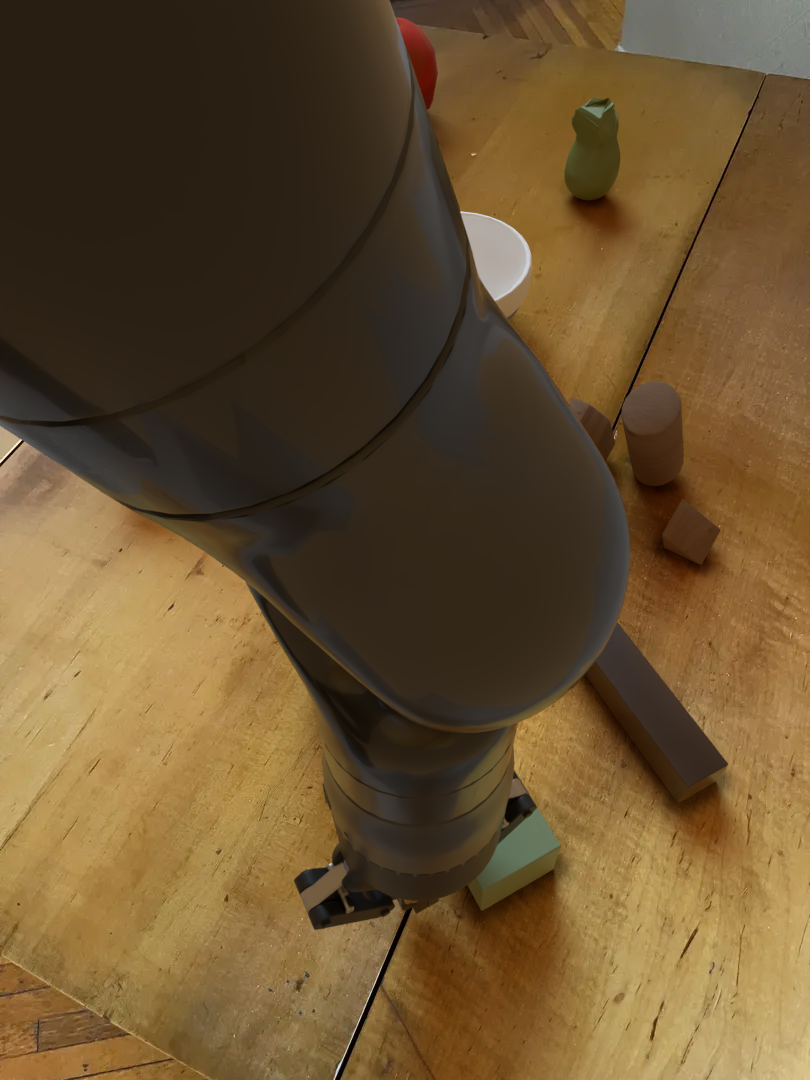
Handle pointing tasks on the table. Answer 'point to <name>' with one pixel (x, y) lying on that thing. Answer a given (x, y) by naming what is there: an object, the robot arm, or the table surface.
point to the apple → (420, 58)
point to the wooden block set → (654, 457)
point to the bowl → (500, 260)
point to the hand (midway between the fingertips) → (419, 891)
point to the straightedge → (655, 718)
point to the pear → (593, 150)
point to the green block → (517, 861)
